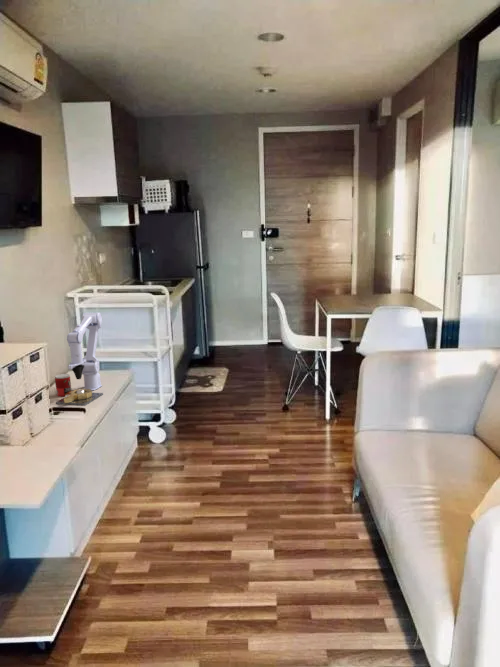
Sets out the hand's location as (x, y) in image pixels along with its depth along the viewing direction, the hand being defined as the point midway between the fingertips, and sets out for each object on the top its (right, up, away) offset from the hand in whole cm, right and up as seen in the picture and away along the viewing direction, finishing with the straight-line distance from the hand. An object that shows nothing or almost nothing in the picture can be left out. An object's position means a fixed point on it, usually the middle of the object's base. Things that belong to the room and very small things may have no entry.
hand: (78, 378), depth 274 cm
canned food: (-10, -10, +6) cm, 15 cm away
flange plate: (+2, -10, -2) cm, 11 cm away
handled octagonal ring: (+1, -10, -5) cm, 11 cm away
